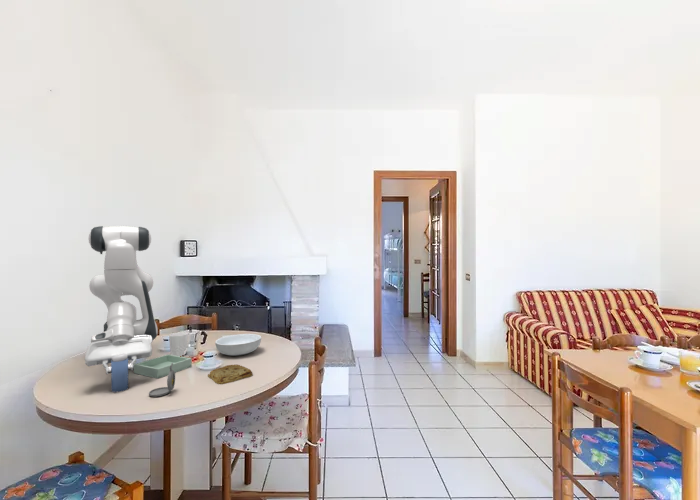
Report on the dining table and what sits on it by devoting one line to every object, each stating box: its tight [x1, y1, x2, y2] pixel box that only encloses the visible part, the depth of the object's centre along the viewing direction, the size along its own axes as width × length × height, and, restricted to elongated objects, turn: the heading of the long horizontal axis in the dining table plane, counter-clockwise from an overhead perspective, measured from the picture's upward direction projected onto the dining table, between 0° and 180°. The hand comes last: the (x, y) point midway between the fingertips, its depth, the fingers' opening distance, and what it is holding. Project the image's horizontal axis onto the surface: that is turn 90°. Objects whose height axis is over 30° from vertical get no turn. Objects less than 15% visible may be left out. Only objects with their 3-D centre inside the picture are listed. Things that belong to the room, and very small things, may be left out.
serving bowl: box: [214, 333, 262, 357], centre depth 165 cm, size 21×21×7 cm
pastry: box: [207, 364, 253, 385], centre depth 134 cm, size 17×17×3 cm
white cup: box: [168, 331, 189, 357], centre depth 163 cm, size 8×8×10 cm
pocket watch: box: [148, 363, 176, 398], centre depth 118 cm, size 8×8×10 cm
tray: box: [133, 353, 193, 379], centre depth 142 cm, size 15×15×4 cm
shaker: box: [110, 353, 129, 393], centre depth 122 cm, size 5×5×12 cm
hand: (119, 371), depth 122 cm, fingers closed on shaker, 5 cm apart
